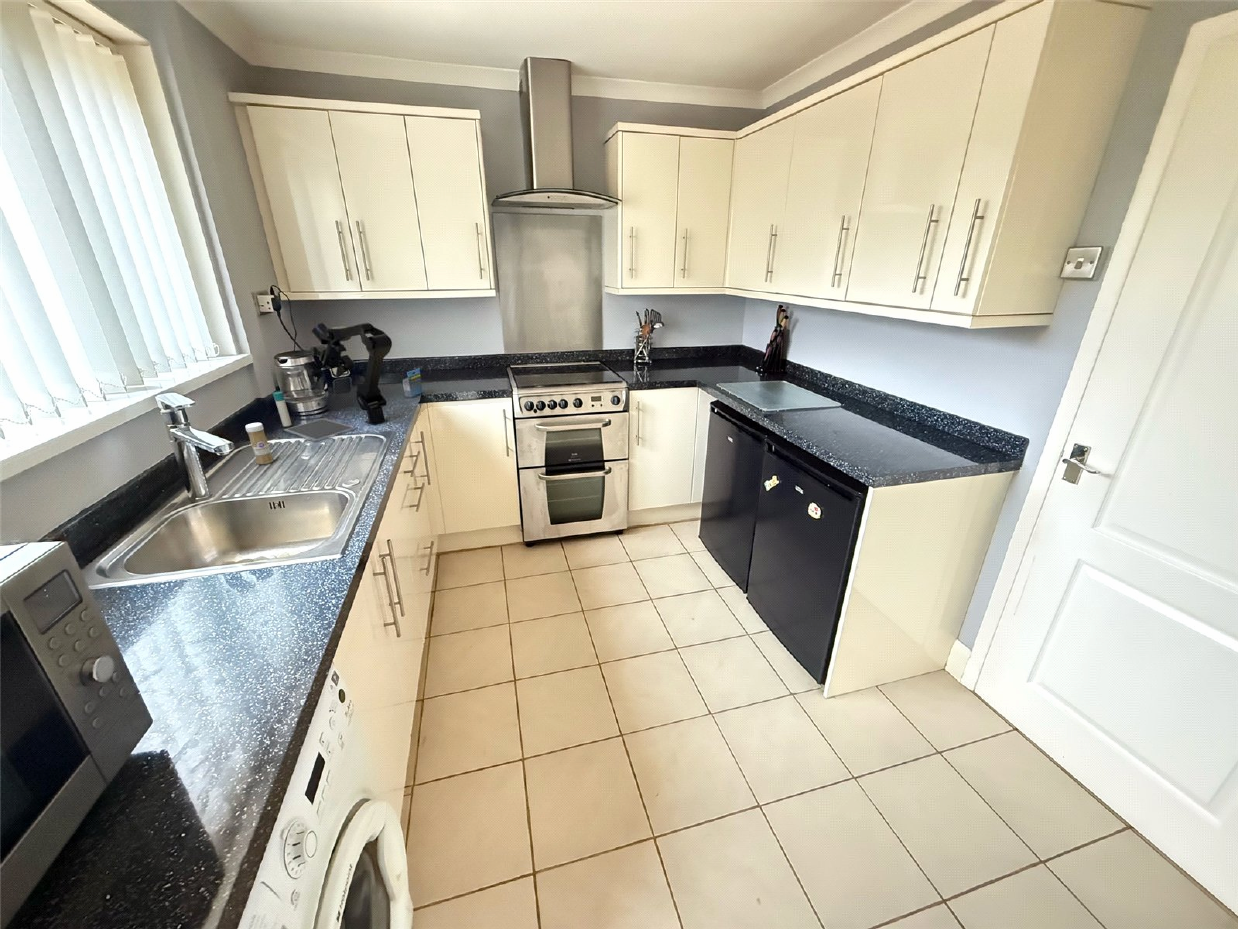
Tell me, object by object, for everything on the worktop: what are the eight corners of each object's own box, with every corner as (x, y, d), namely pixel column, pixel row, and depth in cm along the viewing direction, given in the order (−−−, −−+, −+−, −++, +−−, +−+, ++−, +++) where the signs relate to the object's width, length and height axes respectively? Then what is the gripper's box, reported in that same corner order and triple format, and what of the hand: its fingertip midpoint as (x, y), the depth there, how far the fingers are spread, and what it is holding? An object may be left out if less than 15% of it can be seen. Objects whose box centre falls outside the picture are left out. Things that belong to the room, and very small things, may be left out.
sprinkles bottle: (262, 466, 162) (249, 427, 156) (254, 463, 164) (242, 425, 159) (276, 461, 166) (264, 423, 160) (269, 458, 168) (257, 421, 162)
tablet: (355, 429, 194) (355, 427, 194) (315, 442, 182) (314, 439, 181) (324, 420, 204) (323, 418, 204) (283, 431, 192) (283, 429, 192)
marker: (294, 425, 198) (284, 392, 192) (285, 428, 195) (275, 394, 190) (289, 424, 199) (279, 391, 194) (281, 426, 197) (271, 393, 191)
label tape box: (416, 392, 243) (412, 367, 238) (423, 392, 242) (419, 368, 237) (404, 397, 235) (400, 371, 230) (412, 397, 234) (407, 372, 229)
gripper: (342, 335, 208) (335, 361, 218) (297, 342, 194) (292, 370, 203) (358, 353, 207) (351, 379, 217) (315, 362, 192) (309, 389, 202)
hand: (326, 379), depth 210 cm, fingers open, 9 cm apart
